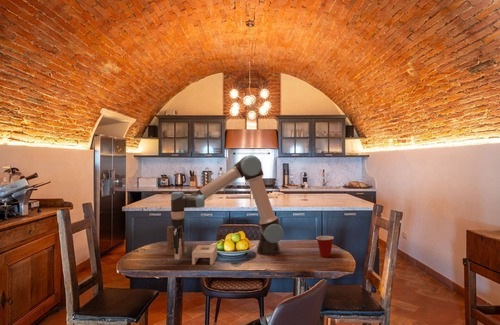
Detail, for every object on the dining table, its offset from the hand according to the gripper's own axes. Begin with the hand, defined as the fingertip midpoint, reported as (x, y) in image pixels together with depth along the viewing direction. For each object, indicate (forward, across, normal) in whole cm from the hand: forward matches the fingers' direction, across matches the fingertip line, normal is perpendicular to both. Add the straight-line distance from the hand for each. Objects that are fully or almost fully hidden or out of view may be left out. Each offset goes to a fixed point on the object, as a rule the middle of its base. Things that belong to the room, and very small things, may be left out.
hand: (178, 258), depth 188 cm
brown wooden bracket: (+3, -15, -6) cm, 16 cm away
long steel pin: (+3, 0, 0) cm, 3 cm away
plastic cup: (+3, -16, +88) cm, 89 cm away
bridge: (+3, -5, +15) cm, 16 cm away
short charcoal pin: (+3, -12, +4) cm, 13 cm away
